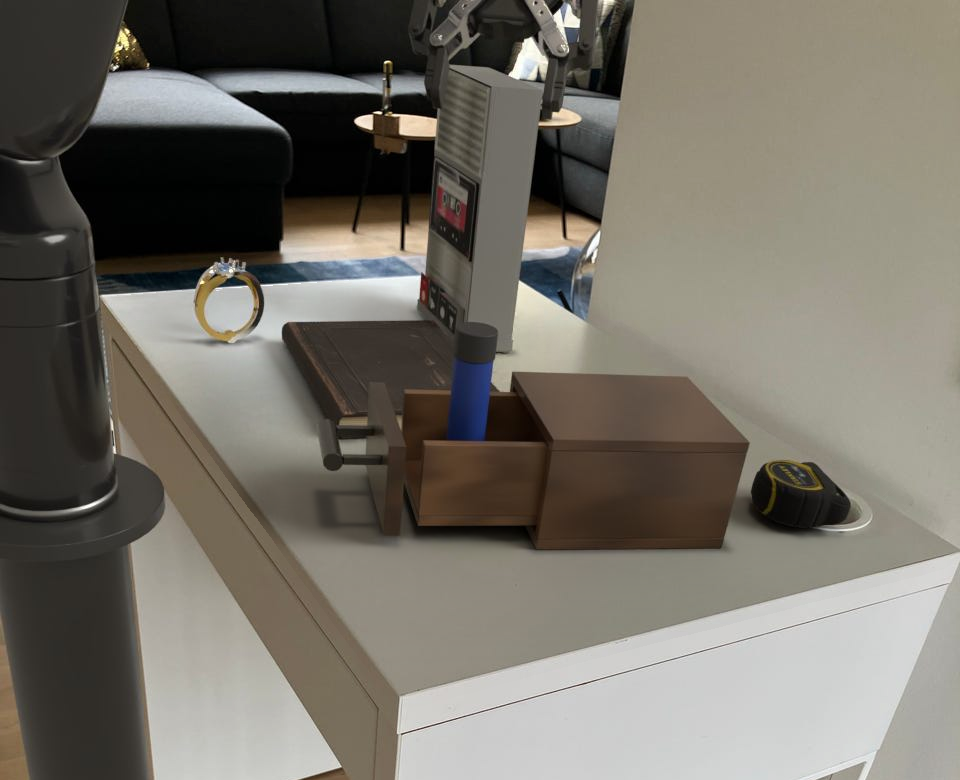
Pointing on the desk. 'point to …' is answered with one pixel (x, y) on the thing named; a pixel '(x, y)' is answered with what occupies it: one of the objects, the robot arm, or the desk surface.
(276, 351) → the desk surface
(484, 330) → the marker
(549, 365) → the desk surface
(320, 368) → the hardcover book
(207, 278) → the ring
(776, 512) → the tape measure
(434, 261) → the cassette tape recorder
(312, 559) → the desk surface
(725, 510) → the cabinet
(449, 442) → the drawer
